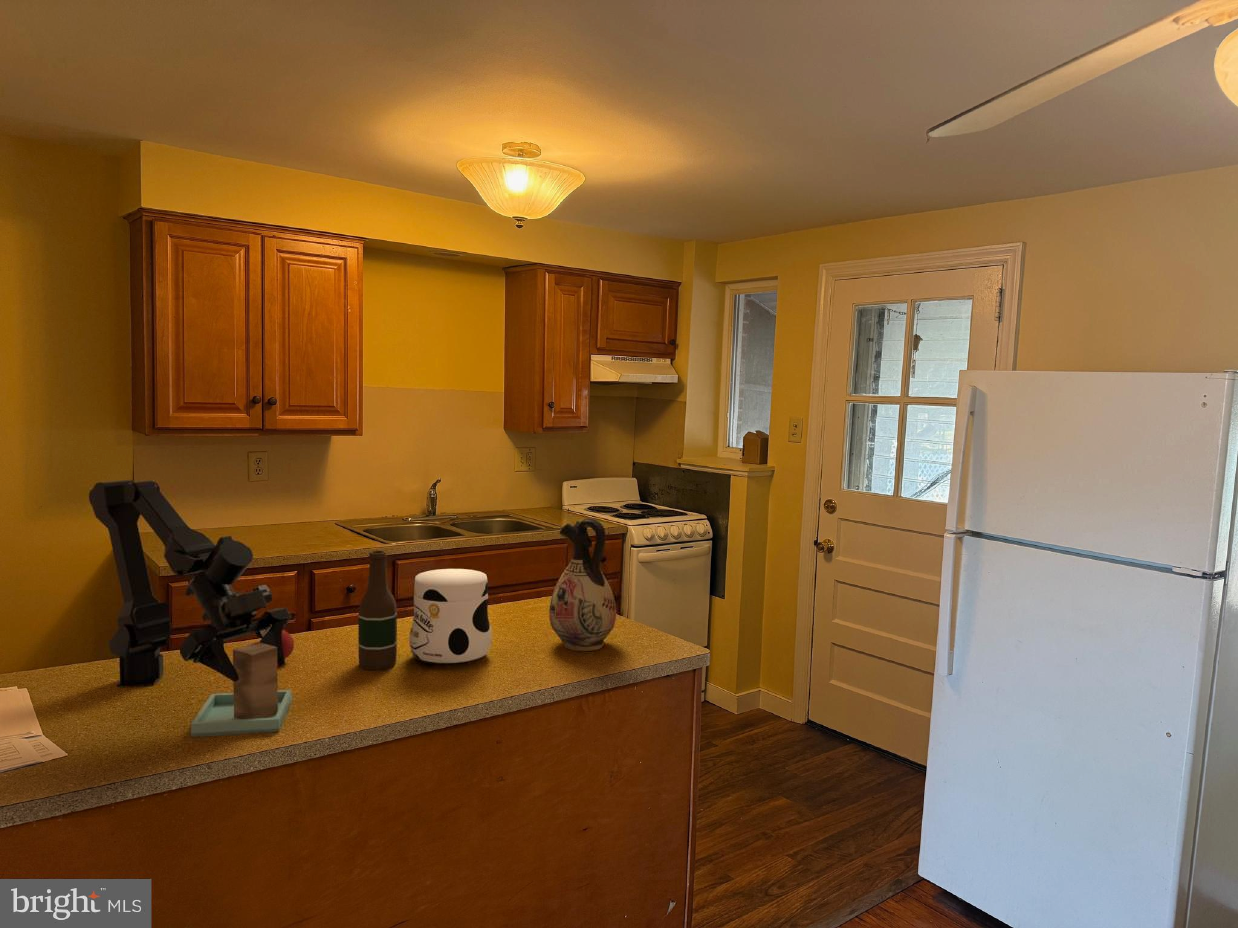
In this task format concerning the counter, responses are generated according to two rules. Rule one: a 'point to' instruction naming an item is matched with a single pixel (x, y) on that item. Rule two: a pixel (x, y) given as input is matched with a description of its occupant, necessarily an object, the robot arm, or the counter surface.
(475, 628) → the milk container
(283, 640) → the onion
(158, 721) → the counter surface
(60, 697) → the counter surface
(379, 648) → the beer bottle
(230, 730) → the teal tray
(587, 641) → the ceramic jug
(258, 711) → the walnut block
